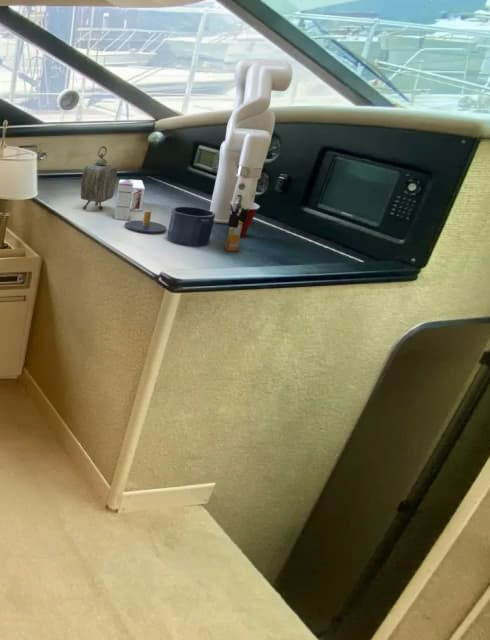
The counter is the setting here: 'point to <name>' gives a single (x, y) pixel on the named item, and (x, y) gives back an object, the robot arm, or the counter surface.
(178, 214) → the pot
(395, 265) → the counter surface
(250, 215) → the plastic cup
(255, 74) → the robot arm
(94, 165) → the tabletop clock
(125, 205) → the syrup box
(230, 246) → the supplement box
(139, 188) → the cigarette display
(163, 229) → the lid
